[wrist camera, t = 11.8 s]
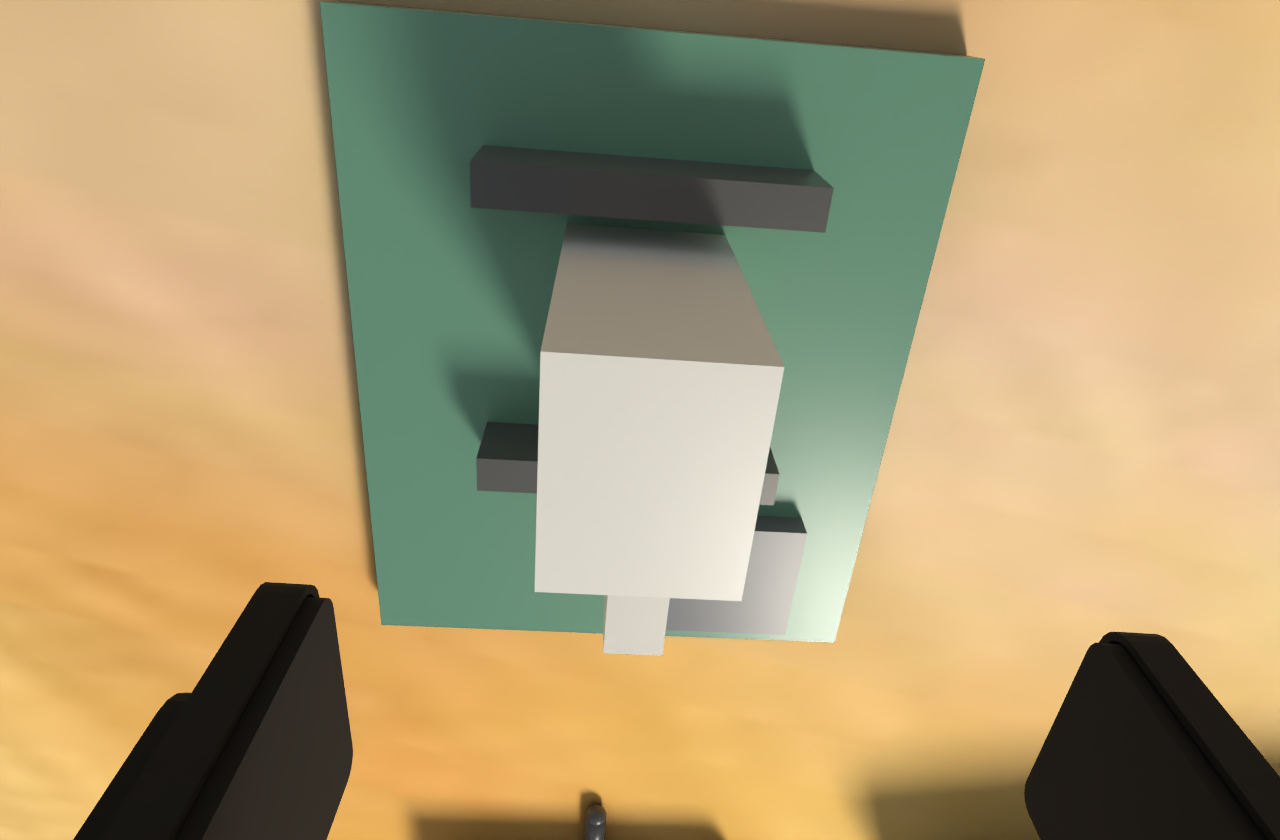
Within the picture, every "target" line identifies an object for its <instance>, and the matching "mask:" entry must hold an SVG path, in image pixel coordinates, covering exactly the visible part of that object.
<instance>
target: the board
mask: <svg viewBox="0 0 1280 840" xmlns="http://www.w3.org/2000/svg"><path fill="white" fill-rule="evenodd" d="M320 8H321V18H322V28H323V38H324V48H325V59H326V69H327V79H328V89H329V99H330V109H331V119H332V129H333V139H334V150H335V160H336V170H337V180H338V190H339V200H340V210H341V220H342V230H343V241H344V251H345V261H346V271H347V281H348V291H349V301H350V311H351V321H352V332H353V342H354V352H355V362H356V372H357V382H358V392H359V402H360V412H361V423H362V433H363V443H364V453H365V463H366V473H367V483H368V493H369V503H370V514H371V524H372V534H373V544H374V554H375V564H376V574H377V584H378V594H379V605H380V615H381V625H400V626H425V627H451V628H476V629H502V630H528V631H553V632H579V633H603V627H604V595H591V594H569V593H546V592H535V552H536V512H537V471H538V431H539V391H540V352H541V347H542V342H543V337H544V332H545V327H546V322H547V317H548V312H549V308H550V303H551V298H552V293H553V288H554V283H555V278H556V273H557V268H558V263H559V259H560V254H561V249H562V244H563V239H564V234H565V229H566V224H567V223H570V224H584V225H597V226H611V227H624V228H638V229H651V230H665V231H678V232H692V233H705V234H719V235H726V237H727V240H728V242H729V244H730V246H731V249H732V251H733V253H734V255H735V258H736V260H737V262H738V264H739V267H740V269H741V271H742V273H743V275H744V278H745V280H746V282H747V284H748V287H749V289H750V291H751V293H752V296H753V298H754V300H755V302H756V304H757V307H758V309H759V311H760V313H761V316H762V318H763V320H764V322H765V325H766V327H767V329H768V331H769V334H770V336H771V338H772V340H773V342H774V345H775V347H776V349H777V351H778V354H779V356H780V358H781V360H782V363H783V365H784V373H783V378H782V384H781V389H780V395H779V400H778V405H777V411H776V416H775V422H774V427H773V433H772V438H771V444H770V449H769V454H768V460H767V465H766V471H765V476H764V482H763V487H762V492H761V498H760V503H759V509H758V514H757V520H756V525H755V531H754V536H753V541H752V547H751V552H750V558H749V563H748V569H747V574H746V580H745V585H744V590H743V596H742V601H724V600H702V599H680V598H670V601H669V608H668V616H667V624H666V632H665V636H681V637H707V638H732V639H758V640H783V641H809V642H835V638H836V634H837V630H838V626H839V623H840V619H841V615H842V611H843V607H844V603H845V599H846V595H847V592H848V588H849V584H850V580H851V576H852V572H853V568H854V565H855V561H856V557H857V553H858V549H859V545H860V541H861V537H862V534H863V530H864V526H865V522H866V518H867V514H868V510H869V506H870V503H871V499H872V495H873V491H874V487H875V483H876V479H877V475H878V472H879V468H880V464H881V460H882V456H883V452H884V448H885V445H886V441H887V437H888V433H889V429H890V425H891V421H892V417H893V414H894V410H895V406H896V402H897V398H898V394H899V390H900V386H901V383H902V379H903V375H904V371H905V367H906V363H907V359H908V355H909V352H910V348H911V344H912V340H913V336H914V332H915V328H916V325H917V321H918V317H919V313H920V309H921V305H922V301H923V297H924V294H925V290H926V286H927V282H928V278H929V274H930V270H931V266H932V263H933V259H934V255H935V251H936V247H937V243H938V239H939V236H940V232H941V228H942V224H943V220H944V216H945V212H946V208H947V205H948V201H949V197H950V193H951V189H952V185H953V181H954V177H955V174H956V170H957V166H958V162H959V158H960V154H961V150H962V146H963V143H964V139H965V135H966V131H967V127H968V123H969V119H970V116H971V112H972V108H973V104H974V100H975V96H976V92H977V88H978V85H979V81H980V77H981V73H982V69H983V65H984V61H985V59H982V58H977V57H972V56H965V55H953V54H942V53H930V52H918V51H907V50H895V49H884V48H872V47H860V46H849V45H837V44H825V43H814V42H802V41H790V40H779V39H767V38H755V37H744V36H732V35H721V34H709V33H697V32H686V31H674V30H662V29H651V28H639V27H627V26H616V25H604V24H593V23H581V22H569V21H558V20H546V19H534V18H523V17H511V16H499V15H488V14H476V13H464V12H453V11H441V10H430V9H418V8H406V7H395V6H383V5H371V4H360V3H348V2H336V1H330V2H320Z"/></svg>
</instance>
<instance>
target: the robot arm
mask: <svg viewBox="0 0 1280 840" xmlns="http://www.w3.org/2000/svg"><path fill="white" fill-rule="evenodd" d="M352 757H353V747H352V739H351V732H350V725H349V717H348V710H347V703H346V696H345V688H344V681H343V674H342V666H341V659H340V652H339V645H338V637H337V630H336V623H335V615H334V608H333V604H332V601H331V599H329V598H319V594H318V590H317V589H316V587H315V586H313V585H304V584H287V583H270V582H265V583H263V584H262V585H260V587H259V588H258V589H257V590H256V592H255V593H254V595H253V596H252V598H251V600H250V601H249V603H248V604H247V606H246V607H245V609H244V611H243V612H242V614H241V615H240V617H239V619H238V620H237V622H236V623H235V625H234V627H233V628H232V630H231V631H230V633H229V634H228V636H227V638H226V639H225V641H224V642H223V644H222V646H221V647H220V649H219V650H218V652H217V653H216V655H215V657H214V658H213V660H212V661H211V663H210V665H209V666H208V668H207V669H206V671H205V673H204V674H203V676H202V677H201V679H200V680H199V682H198V684H197V685H196V687H195V688H194V690H193V692H192V693H177V694H176V695H174V696H173V697H171V698H170V699H168V700H167V701H166V702H165V704H164V705H163V706H162V707H161V708H160V710H159V711H158V712H157V714H156V715H155V717H154V718H153V720H152V721H151V723H150V724H149V726H148V727H147V729H146V730H145V732H144V733H143V735H142V736H141V738H140V739H139V741H138V742H137V744H136V745H135V747H134V748H133V750H132V751H131V753H130V754H129V756H128V758H127V759H126V761H125V762H124V764H123V765H122V767H121V768H120V770H119V771H118V773H117V774H116V776H115V777H114V779H113V780H112V782H111V783H110V785H109V786H108V788H107V789H106V791H105V792H104V794H103V795H102V797H101V798H100V800H99V801H98V803H97V804H96V806H95V807H94V809H93V810H92V812H91V814H90V815H89V817H88V818H87V820H86V821H85V823H84V824H83V826H82V827H81V829H80V830H79V832H78V833H77V835H76V836H75V838H74V839H73V840H326V839H327V837H328V834H329V831H330V828H331V826H332V823H333V820H334V817H335V815H336V812H337V809H338V806H339V804H340V801H341V798H342V795H343V793H344V790H345V787H346V784H347V782H348V778H349V775H350V771H351V765H352ZM1024 794H1025V803H1026V807H1027V811H1028V813H1029V816H1030V818H1031V820H1032V822H1033V824H1034V826H1035V829H1036V831H1037V833H1038V835H1039V837H1040V839H1041V840H1280V777H1279V775H1278V774H1277V773H1276V772H1275V771H1274V769H1273V768H1272V767H1271V766H1270V764H1269V763H1268V762H1267V761H1266V759H1265V758H1264V757H1263V756H1262V754H1261V753H1260V752H1259V751H1258V750H1257V748H1256V747H1255V746H1254V745H1253V743H1252V742H1251V741H1250V740H1249V738H1248V737H1247V736H1246V735H1245V734H1244V732H1243V731H1242V730H1241V729H1240V727H1239V726H1238V725H1237V724H1236V722H1235V721H1234V720H1233V719H1232V717H1231V716H1230V715H1229V714H1228V713H1227V711H1226V710H1225V709H1224V708H1223V706H1222V705H1221V704H1220V703H1219V701H1218V700H1217V699H1216V698H1215V697H1214V695H1213V694H1212V693H1211V692H1210V690H1209V689H1208V688H1207V687H1206V685H1205V684H1204V683H1203V682H1202V680H1201V679H1200V678H1199V677H1198V676H1197V674H1196V673H1195V672H1194V671H1193V669H1192V668H1191V667H1190V666H1189V664H1188V663H1187V662H1186V661H1185V660H1184V658H1183V657H1182V656H1181V655H1180V653H1179V652H1178V651H1177V650H1176V648H1175V647H1174V646H1173V645H1172V644H1171V643H1170V642H1169V641H1168V640H1167V639H1166V638H1165V637H1163V636H1160V635H1158V634H1143V633H1126V632H1109V633H1107V634H1106V635H1104V636H1103V637H1102V639H1101V640H1100V642H1099V643H1094V644H1092V645H1091V646H1090V647H1089V649H1088V650H1087V652H1086V655H1085V657H1084V659H1083V661H1082V663H1081V665H1080V667H1079V670H1078V672H1077V674H1076V676H1075V678H1074V680H1073V682H1072V685H1071V687H1070V689H1069V691H1068V693H1067V695H1066V697H1065V700H1064V702H1063V704H1062V706H1061V708H1060V710H1059V712H1058V715H1057V717H1056V719H1055V721H1054V723H1053V725H1052V727H1051V730H1050V732H1049V734H1048V736H1047V738H1046V740H1045V742H1044V745H1043V747H1042V749H1041V751H1040V753H1039V755H1038V757H1037V760H1036V762H1035V764H1034V766H1033V768H1032V770H1031V772H1030V775H1029V777H1028V779H1027V781H1026V784H1025V792H1024Z"/></svg>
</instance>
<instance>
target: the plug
mask: <svg viewBox="0 0 1280 840" xmlns="http://www.w3.org/2000/svg"><path fill="white" fill-rule="evenodd" d="M783 373H784V365H783V363H782V360H781V358H780V356H779V354H778V351H777V349H776V347H775V345H774V342H773V340H772V338H771V336H770V334H769V331H768V329H767V327H766V325H765V322H764V320H763V318H762V316H761V313H760V311H759V309H758V307H757V304H756V302H755V300H754V298H753V296H752V293H751V291H750V289H749V287H748V284H747V282H746V280H745V278H744V275H743V273H742V271H741V269H740V267H739V264H738V262H737V260H736V258H735V255H734V253H733V251H732V249H731V246H730V244H729V242H728V240H727V237H726V235H719V234H705V233H692V232H678V231H665V230H651V229H638V228H624V227H611V226H597V225H584V224H570V223H567V224H566V229H565V234H564V239H563V244H562V249H561V254H560V259H559V263H558V268H557V273H556V278H555V283H554V288H553V293H552V298H551V303H550V308H549V312H548V317H547V322H546V327H545V332H544V337H543V342H542V347H541V352H540V391H539V431H538V471H537V512H536V552H535V592H546V593H569V594H591V595H604V627H603V653H614V654H639V655H663V647H664V639H665V632H666V624H667V616H668V608H669V601H670V598H680V599H702V600H724V601H742V596H743V590H744V585H745V580H746V574H747V569H748V563H749V558H750V552H751V547H752V541H753V536H754V531H755V525H756V520H757V514H758V509H759V503H760V498H761V492H762V487H763V482H764V476H765V471H766V465H767V460H768V454H769V449H770V444H771V438H772V433H773V427H774V422H775V416H776V411H777V405H778V400H779V395H780V389H781V384H782V378H783Z"/></svg>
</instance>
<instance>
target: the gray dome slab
mask: <svg viewBox="0 0 1280 840" xmlns="http://www.w3.org/2000/svg"><path fill="white" fill-rule="evenodd" d="M605 824H606V811H605V809H604V808H603V807H602V806H600V805H593V806H591V807H590V808H589V809H588V811H587V813H586V824H585V838H584V840H604V835H605Z"/></svg>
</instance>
